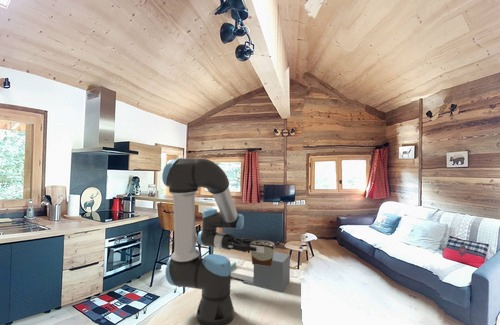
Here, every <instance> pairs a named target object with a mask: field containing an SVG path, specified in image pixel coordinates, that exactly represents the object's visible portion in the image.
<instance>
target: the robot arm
mask: <svg viewBox="0 0 500 325" xmlns="http://www.w3.org/2000/svg"><path fill="white" fill-rule="evenodd" d="M161 176H162V177H161V179H162V183H163V184H164V186H166V187H168V192H169V194H171V195H172V198H173V199H172V200H173V201H172V202H173V204H172V205H173V232H174V233H173V234H174V235H173V236H174V239H173V240H174V252H173V253H171V255H170V257H169V258H168V260H167V262H166V267H165V278H166V279H165V280H166V281H167V283H168V284H169V285H171V286H175V287H177V288H187V289H188V288H190V289H198V290H201V298H200V302H199V304H198V306H197V310H196V321H197V322H198V323H199V324H200V325H228V324H229V323H231V322H232V321H233V319H234V317H235V309H234V308H235V307H234V305H233V301H232V298H231V281H232V277H231V264H232V263H231V260H229V259H228V258H227V257H226V256H224V255H221V254H217V253H215V254H213V253H212V254H206V255H204V256H203V257H200V251H199V250H198V249H197V246H196V244H197V243H198V244H199V245H201V246H205V247H211V248H216V249H219V250H221V249H223V250H228V251H230V250H234V251H238V252H243V253H248V254H251V251H252V252H258V253H264V247H261V246H255V245H250V244H251V242H253V241H257V240H259V239H258V238H256V239H255V238H248V237H247V238H246V237H242V236H241V237H236V238H235V236H234V235H233V234H231V233H224V232H218V231H217V228H221V229H230V230H231V229H234V230H241V229H243V227H244V224H245V216H244V214H242V213H241V214H240V213H238V212H237V209H236V205H235V203H234V200H233V196H232V194H231V191H230V187H229V186H230V181H229V178H228V176H227V174H226V172H225V171H224V169H222V167H220V166H219V165H218V164H217V163H216V162H214V161H213V160H211V159H207V158H183V157H180V158H172V159H169V160H168V161H167V162H166V164H165V166H164V167H163V170H162V175H161ZM199 188H205V189H207V191H208V193H210V194H211V195H212V196H213V199H214V201H215V203H216V206H217V207H218V208H217V209H218V210H219V211H220V212H218V210H217V209H216V208H211V207H210V208H205V209H204V210H203V212H202V230H200V231H199V232H198V233H197V236H196V203H195V201H196V199H195V198H196V197H195V196H196V193H197V192H198V191H199ZM196 237H197V238H196ZM196 241H197V242H196Z"/></svg>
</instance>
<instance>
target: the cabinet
mask: <svg viewBox="0 0 500 325" xmlns="http://www.w3.org/2000/svg"><path fill="white" fill-rule="evenodd" d="M290 268H291V254H289V253H282V252H277V251H274V253H273V262H272V267H268V266H261V265H253V269H254V277H253V282H251V281H247V280H243V282H242V283H243V284H245V285H249V286H252V287H253V286H255V287H258V288H263V289H266V290H271V291H276V292H278V293H279V292H280V293H284V291H285V290H286V288H287V287H286V286H289V284H288V283H290V279H291V277H290V275H291V274H290V271H291V269H290Z"/></svg>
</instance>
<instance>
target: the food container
mask: <svg viewBox="0 0 500 325" xmlns="http://www.w3.org/2000/svg"><path fill="white" fill-rule="evenodd" d="M250 245H255V246H261V247H264V253H258V252H252V251H250V254H251V265H253V266H254V265H261V266H268V267H272V262H273V253H274V252H275V249H276V246H275V243H274V242H273V241H270V240H266V239H265V240H263V239H258V240H257V241H253V242H251V244H250Z"/></svg>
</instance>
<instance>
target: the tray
mask: <svg viewBox="0 0 500 325" xmlns="http://www.w3.org/2000/svg"><path fill="white" fill-rule="evenodd" d="M253 277H254V267H253V268H252V267H248V266H247V267H246V266H242V265H238V264H237V262H236V261H233V262H232V263H231V278H233V279H234V278H235V279H239V280H243V281H244V280H247V281H251V282H253Z"/></svg>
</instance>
